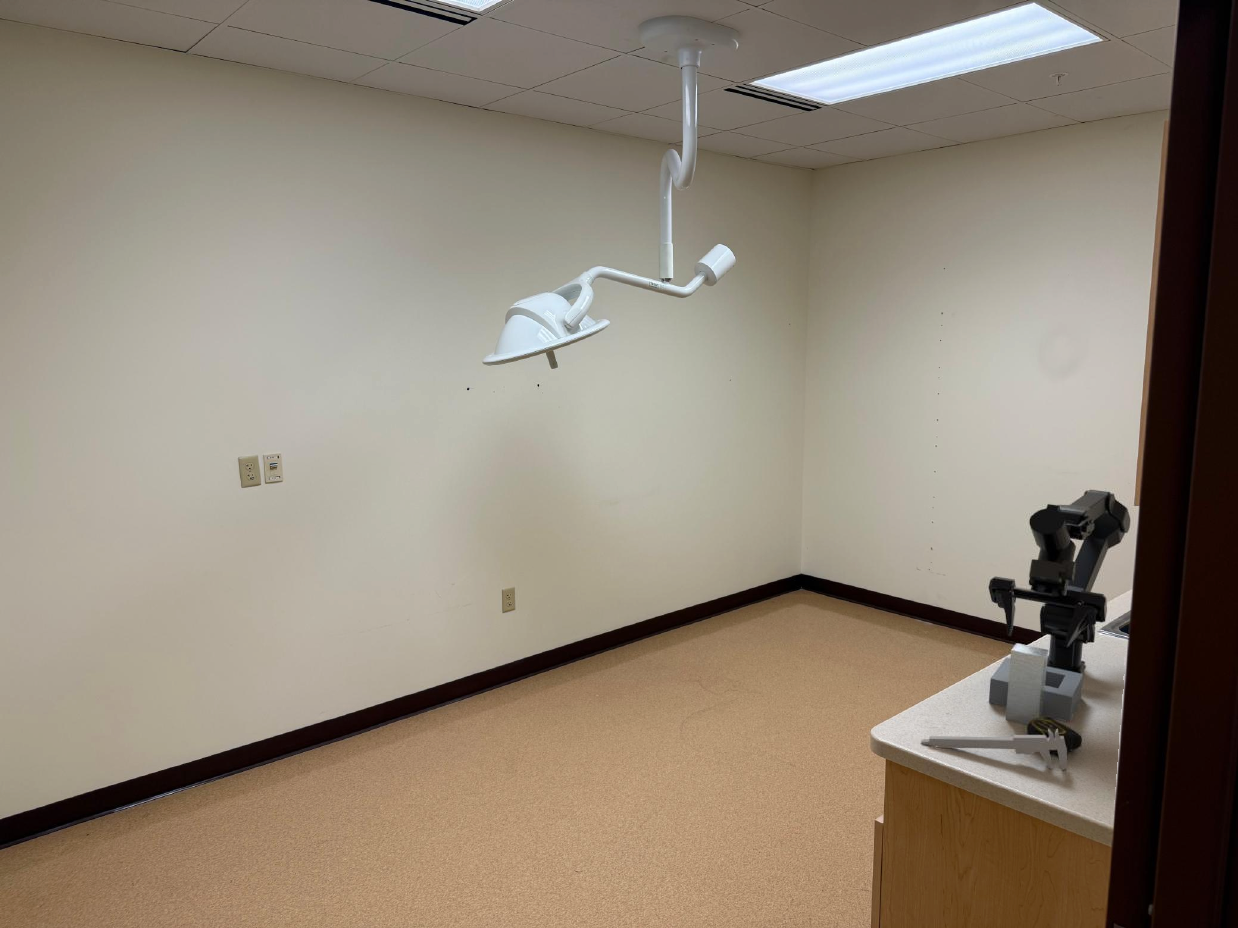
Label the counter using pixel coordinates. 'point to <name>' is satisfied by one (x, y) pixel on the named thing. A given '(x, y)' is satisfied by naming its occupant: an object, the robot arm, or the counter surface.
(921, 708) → the counter surface
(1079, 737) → the tape measure
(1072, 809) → the counter surface
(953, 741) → the caliper
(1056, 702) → the block
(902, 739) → the counter surface
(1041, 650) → the light gray rectangular block
